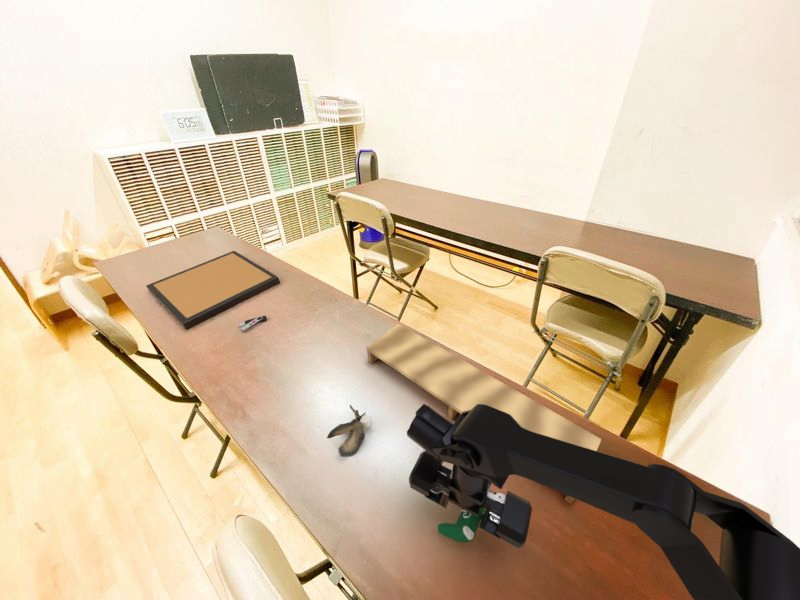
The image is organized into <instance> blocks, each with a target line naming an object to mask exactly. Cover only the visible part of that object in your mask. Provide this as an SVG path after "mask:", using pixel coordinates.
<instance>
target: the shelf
mask: <svg viewBox="0 0 800 600" xmlns="http://www.w3.org/2000/svg"><path fill="white" fill-rule="evenodd" d="M366 350H367V351H366V353H367V361H368V363H369V364H370V365H372V364H374V363H375V362H376V361H377V360H378V359H379V360H380V361H382V362H383V363H385V364H387V365H388V366H390V367H391V368H392V369H393V370H395V371H396V372H398V373H400V374H401V375H403V376H404V377H406V378H407V379H408V380H410V381H411V382H412V383H414V384H416V385H417V386H418V387H420V388H421V389H423V390H424V391H426V392H428V393H429V394H431V395H432V396H434V397H435V398H437V399H438V400H439V401H441V402H442V403H444V404H445V405H447V406H448V410H447V419H448V420H450V421H453V419H455V417H456V416H457V415H458V414H460V415H461V414H462V412H464V411H468V410H472V408H473V407H474V406H476V405H477V404H484V405H488V406H491V407H493V408H496V409H498V410H501V411H503V412H506V413H508V414H510V415H511V416H512V417H513V418H514V419H515V420H516V421H517V423H518V424H519V425H520V426H521V427H522V428H525V429H527V430H529V431H532V432H535V433H538V434H542V435H545V436H548V437H551V438H555V439H558V440H561V441H565V442H568V443H571V444H575V445H578V446H581V447H585V448H588V449H591V450H594V451H598V449H599V446H600V444H601V442H602V438H600V437H599V436H597V435H595V434H593V433H592V432H590V431H588V430H586V428H585V429H584V428H583V427H581V426H579V425H578V424H575V423H574V422H572V421H570V420H569V419H567V418H566V417H563V416H562V415H560V414H559V413H556V412H554V411H553V410H551V409H549V407H546V406H544V405H543V404H541V403H539V402H537V401H535V400H533V399H531V398H530V397H529V396H526V395H524V394H523V393H521V392H519V391H518V390H516V389H514V388H512V387H511V386H509V385H507V384H506V383H503V382H502V381H500V380H498V379H497V378H495V377H493V376H491V375H490V374H488V373H486V372H484V371H482V370H481V369H479V368H477V367H476V366H474V365H472V364H470V363H468V362H467V361H465V360H464V359H462V358H460V357H458V356H456V355H455V354H452V353H451V352H450V351H447V350H445V349H443V348H442V347H440V346H439V345H436V344H435V343H433V342H431V341H430V340H428V339H426V338H424V337H422V336H421V335H419V334H418V333H415V332H414V331H412V330H410V329H408V328H407V327H405V326H403V325H402V324H400V323H397V324H395V325H394V326H393V327H391V328H390V329H389V330H387V331H386V332H385V333H383V334H382V335H381V336H380V337H378V338H377V339H376V340H374V341H373V342H371V343H370V344H369V345H367V346H366ZM574 500H576V499H575V498H572V497H570V496H568V495H565V497H564V501H566V502H567V503H568V504H569V505H572V503H573V502H574Z"/></svg>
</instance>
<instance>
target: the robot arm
mask: <svg viewBox="0 0 800 600" xmlns="http://www.w3.org/2000/svg"><path fill="white" fill-rule="evenodd" d="M406 436H407V437H408V439H410V440H411V441H413V442H414V443H415V444H417V445H418V446H419V447H420V448H421V449H423V451H421V452H420V453H419V456H418V458H417V459H416V462H415V463H414V466H413V468H412V469H411V471H410V473H409V476H408V484H409V488H410V489H412V490H414V491H416V492H418V493H419V494H421V495H422V496H424V498H427V500H430V501H432V502H433V503H435V504H436V505H438V506H440V507H442V508H444V509H447V508H448V505H449V503H451V504H453V505H454V506H456V507H458V508H460V509H461V510H462V509H464V510H465V511H467V512H469V513H471V514H473V515H474V516H476V517H478V514H479V511H480V509H481V508H482V507H484V508H485V510H484V512H483V515H482V518H481V520H480V523H479V526H478V528H479V529H481V530H483V531H485V532H486V533H488V534H490V535H491V536H493V537H496V538H497V539H499V540H503V542H504V541H505V542H506V543H508V544H509V545H512V546H513V547H515V548H517V549H521V548H523V547H524V545H525V544H526V541H527V537H528V533H529V528H530V522H531V517H532V512H533V506H532V504H531V502H530V500H527V499H525V498H523V497H521V496H520V495H517V494H515V493H513V492H511V491H509V490H507V491H506V494H504V493H502V492H495V491H494V492H493V493H492V492H491V491H490V489H491V487H492V485H494V486H495V487H496V488H497V489H500V490H501V489H502V488H503V487H504V485H505V484H506V482H507V480H508V478H509V476H514V475H515V476H518V477H521V478H524V479H527V480H530V481H532V482H534V483H537V484H539V485H542V486H544V487H546V488H549V489H551V490H553V491H556V492H558V493H561V494H563V495H565V496H566V495H568V496H570V497H572V498H575V499H574V500H577V501H579V502H582V503H584V504H586V505H589V506H592V507H594V508H596V509H598V510H601V511H603V512H606V513H608V514H610V515H612V516H615V517H618V518H620V519H623V520H624V521H628V522H630V523H631V524H634V525H635V526H636V527H637V528H638V529H639V530H640V531H641V532H643V534H645V535H646V536H647V537H648V538H649V539H650V540H652V542H653V543H654V544H656V545H657V546H659V548H660V549H661V550H662V552H663V554H664V556H665V557H666V558H667V560H668V562H669V563H670V565H671V567H672V568H673V570H674V571H675V573H676V575H677V576H678V578H679V579H680V581H681V583H682V584H683V586H684V587H685V589H686V590H687V592H688V594H689V595H690V597H691V598H692V600H800V547H799V546H798V545H797V544H796V543H795V542H793V540H791V539H790V538H789V537H788V536H786V535H785V534H784V533H782V532H781V531H780V530H778V529H777V528H776V527H774V526H773V525H772V524H771V523H770V522H768V521H766V520H765V519H764V518H763V517H762V516H760V515H759V514H758V513H756V512H755V511H754V510H752V509H751V508H750V507H748V506H747V505H745V504H744V503H742V502H741V501H737V500H733V499H730V498H726V497H723V496H721V495H718V494H714V493H711V492H708V491H705V490H704V489H702V488H701V487H700V486H698V485H697V484H696V483H695V482H694V481H692V480H691V479H689V478H688V477H687V476H686V475H685V474H683V473H681V472H680V471H679V470H676V469H675V468H672V467H670V466H668V465H665V464H659V463H650V464H647V465H645V464H640V463H638V462H634V461H631V460H627V459H624V458H621V457H617V456H614V455H610V454H608V453H604V452H602V451H598V450H597V451H594V450H591V449H588V448H585V447H581V446H578V445H575V444H571V443H568V442H565V441H561V440H558V439H555V438H551V437H548V436H545V435H542V434H538V433H535V432H532V431H529V430H527V429H525V428H522V427H521V426H520V425H519V424H518V423H517V421H516V420H515V419H514V418H513V417H512V416H511V415H510V414H508V413H506V412H503V411H501V410H498V409H496V408H493V407H491V406H488V405H484V404H477V405H476V406H474V407H473V408H472V410H468V411H464V412H462V414H460V415H459V416H458V417H457V419H456V420H455V421H454V422H452V420H450V419H449V418H448V417H446V416H444V415H443V414H441V413H440V412H439V411H437V410H435V408H433V407H431V406H430V405H427V404H426V403H423V404H422V405H421V406H420V407H419V408H418V409H417V410H416V411H415V416H414V418H413V419H412V421H411V423H410V425H409V428H408V429H407V430H406ZM444 463H447V464H451V465H452V469H451V468H448V467H447V466H444V465H443V464H444ZM695 513H697V514H700V515H703V516H705V517H707V518H708V519H709V520H711V521H712V522H713V523H714V524H716V525H717V526H718V527H719V528H720V529H722V530H721V535H720V549H719V558H718V559H719V561H718V563H717V561H716V559H715V558H714V557H713V555H712V553H711V552H710V551H709V549H708V548H707V546H706V545H705V544H704V542H703V541H702V540H701V539H700V538H699V537H698V536H697V535H696V534H694V533H693V525H694V524H693V523H694V519H695V517H694V516H695Z"/></svg>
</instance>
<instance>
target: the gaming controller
mask: <svg viewBox="0 0 800 600" xmlns="http://www.w3.org/2000/svg"><path fill="white" fill-rule="evenodd" d="M485 510H486V508H484V507H482V508H481V509H480V511H479V514H478V517H476V516H474V515H473V514H471V513H469V512H467V511H465V510H464V509H462V508H461V510H460V513H459V515H458V518H457V520H456V522H455V523H450V522H442V523H441V522H440V523H438V524H437V533H439V534H440V535H442V536H444V537H446V538H448V539H450V540H452V541H455V542H458V543H462V544H463V543H469V542H472V541H473V539H475V536H476V532H477V530H478V528H479V524H480V521H481V518H482V515H483V514H484V512H485Z"/></svg>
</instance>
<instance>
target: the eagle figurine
mask: <svg viewBox="0 0 800 600" xmlns="http://www.w3.org/2000/svg"><path fill="white" fill-rule="evenodd" d="M349 409H350V410H351V411H352V413H353V414H354V416H355V417H354V418H353V419H352V420H350V421H349V422H345V423H340V424H338V425H336V426H335V427H334V428H332V429H331V430H330V431H329V432H328V434H327V436H326V439H332V438H334V437H338V436H342V435H345V434H348V436H347V437H346V439H345V440H344V442H342V444H340V446H339V447H338V448H337V450H338V454H339V456H340V457H341V458H344V457H345V458H347V457H351V456H353V455H356V453H357V452H358V451H359V448H360V447H361V445H362V443H363V442H364V441H365V436H366V434H365V431H364V428H370V427H371V426H372V423H373V420H372V417H371V416H369V415H367V414H366V413H367V412H364V413H363V414H361V415H360V413H359V410H358V409H355V408H354V407H353V406H352V404H349Z"/></svg>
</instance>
